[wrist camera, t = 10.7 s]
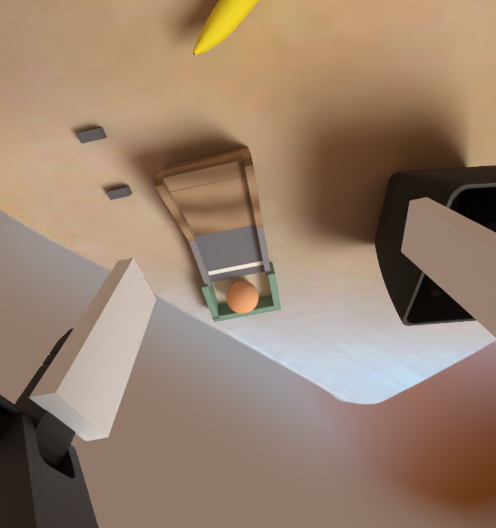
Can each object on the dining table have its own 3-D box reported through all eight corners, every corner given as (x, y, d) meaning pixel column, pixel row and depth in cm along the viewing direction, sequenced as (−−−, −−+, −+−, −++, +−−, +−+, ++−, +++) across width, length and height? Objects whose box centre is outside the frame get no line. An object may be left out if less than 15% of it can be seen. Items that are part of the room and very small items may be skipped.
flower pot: (351, 261, 48) (402, 329, 34) (371, 154, 37) (456, 186, 23) (451, 252, 48) (543, 316, 34) (498, 143, 38) (658, 169, 24)
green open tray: (203, 276, 48) (201, 288, 45) (272, 262, 47) (274, 273, 44) (215, 309, 52) (214, 321, 49) (278, 297, 51) (281, 309, 48)
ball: (220, 287, 44) (227, 320, 44) (254, 280, 43) (261, 314, 44) (225, 281, 50) (231, 311, 50) (255, 275, 49) (261, 305, 50)
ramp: (165, 163, 36) (151, 177, 30) (247, 144, 36) (251, 155, 29) (192, 236, 43) (184, 262, 36) (261, 222, 42) (267, 245, 36)
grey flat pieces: (81, 132, 34) (76, 133, 33) (102, 127, 34) (98, 128, 33) (113, 197, 39) (110, 199, 38) (132, 193, 38) (129, 195, 37)
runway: (190, 231, 42) (187, 238, 40) (260, 216, 42) (262, 223, 39) (207, 278, 48) (205, 287, 45) (269, 266, 47) (271, 274, 45)
